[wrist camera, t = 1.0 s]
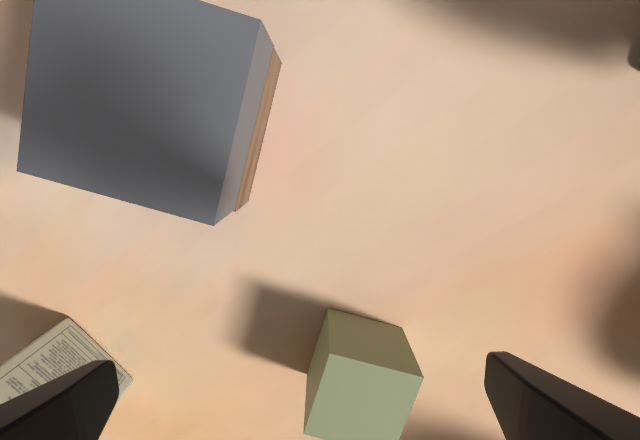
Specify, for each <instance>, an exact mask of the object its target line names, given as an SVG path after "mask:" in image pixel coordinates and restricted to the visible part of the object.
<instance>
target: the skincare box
mask: <svg viewBox="0 0 640 440" xmlns="http://www.w3.org/2000/svg"><path fill="white" fill-rule="evenodd" d="M94 360H112V361H113V362H114V363H115V366H116V371H117V377H118V383H119V397H118V400H117V402H116V404H117V403H118V401H119V400H120V398H121V397H122V396H123V394H124V393H125V392H126V390H127V389H128V388H129V386H130V385H131V384H132V382H133V379H132V378H131V377H130V376H129V375H128V374H127V373H126V372H125V371H124V370H123V369H122V368H121V367H120V366H119V365H118V364H117V363H116V362H115V361H114V360H113V359H112V358H111V357H110V356H109V355H108V354H107V353H106V352H105V351H104V350H103V349H102V348H101V347H100V346H99V345H98V344H97V343H96V342H95V341H94V340H93V339H92V338H90V337H89V336H88V334H86V333H85V332H84V331H83V330H82V329H81V328H79V327H78V326H77V325H76V324H75V323H74V322H73V321H72V320H71V319H70V318H65V319H64V320H62V321H61V322H59V323H58V324H57V325H55V326H54V327H52V328H51V329H50V330H48V331H47V332H45V333H44V334H43V335H41V336H40V337H38V338H37V339H36V340H34V341H33V342H31V343H30V344H29V345H27V346H26V347H25V348H23V349H22V350H20V351H19V352H18V353H16V354H15V355H13V356H12V357H11V358H9V359H8V360H6V361H5V362H4V363H2V364H1V365H0V404H2V403H4V402H6V401H8V400H10V399H13V398H15V397H17V396H19V395H21V394H23V393H25V392H27V391H30V390H32V389H34V388H36V387H38V386H40V385H42V384H45V383H47V382H49V381H51V380H53V379H55V378H57V377H59V376H62V375H64V374H66V373H68V372H70V371H72V370H74V369H76V368H79V367H81V366H83V365H85V364H87V363H89V362H91V361H94Z"/></svg>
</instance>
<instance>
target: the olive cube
mask: <svg viewBox="0 0 640 440" xmlns="http://www.w3.org/2000/svg"><path fill="white" fill-rule="evenodd" d="M423 378H424V377H423V375H422V372H421V370H420V368H419V365H418V363H417V361H416V359H415V356H414V354H413V352H412V349H411V347H410V345H409V342H408V340H407V338H406V336H405V333H404V331H403V329H402V328H401V327H398V326H394V325H390V324H386V323H382V322H379V321H375V320H371V319H367V318H364V317H360V316H356V315H352V314H348V313H345V312H341V311H337V310H333V309H330V308H328V309H327V313H326V316H325V319H324V322H323V325H322V328H321V332H320V335H319V338H318V341H317V344H316V347H315V351H314V354H313V357H312V360H311V363H310V366H309V370H308V373H307V384H306V400H305V417H304V434H306V435H310V436H314V437H318V438H322V439H326V440H399V438H400V436H401V433H402V431H403V428H404V426H405V423H406V421H407V418H408V416H409V413H410V411H411V408H412V406H413V403H414V401H415V398H416V396H417V393H418V391H419V388H420V386H421V383H422V381H423Z"/></svg>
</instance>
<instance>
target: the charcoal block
mask: <svg viewBox="0 0 640 440" xmlns="http://www.w3.org/2000/svg"><path fill="white" fill-rule="evenodd" d="M273 47H274V45H273V43H272V41H271V39H270V37H269V35H268V33H267V31H266V29H265V27H264V25H263V23H262V21H261V20H260V19H256V18H253V17H250V16H247V15H244V14H241V13H237V12H234V11H231V10H228V9H225V8H222V7H218V6H215V5H212V4H209V3H206V2H203V1H199V0H34V4H33V14H32V24H31V34H30V44H29V54H28V64H27V74H26V84H25V93H24V103H23V113H22V123H21V133H20V143H19V153H18V163H17V171H18V172H22V173H25V174H29V175H33V176H36V177H40V178H43V179H47V180H51V181H54V182H58V183H61V184H65V185H68V186H72V187H76V188H79V189H83V190H86V191H90V192H94V193H97V194H101V195H104V196H108V197H111V198H115V199H119V200H122V201H126V202H129V203H133V204H137V205H140V206H144V207H147V208H151V209H155V210H158V211H162V212H165V213H169V214H172V215H176V216H180V217H183V218H187V219H190V220H194V221H198V222H201V223H205V224H208V225H212V226H214V225H215V224H217V223H218V222H219V221H220V220H222V219H223V218H224V217H226V216H227V215H228V214H229V213H231V212H232V211H233V210H234V209H235V204H236V200H237V196H238V192H239V188H240V184H241V180H242V175H243V171H244V167H245V163H246V159H247V155H248V151H249V146H250V142H251V138H252V134H253V130H254V126H255V122H256V117H257V113H258V109H259V105H260V101H261V97H262V93H263V89H264V84H265V80H266V76H267V72H268V68H269V64H270V60H271V55H272V51H273Z"/></svg>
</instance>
